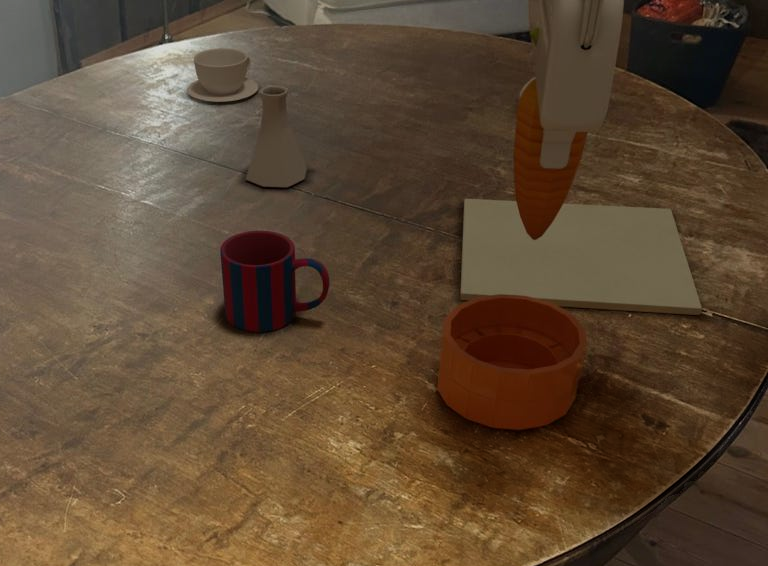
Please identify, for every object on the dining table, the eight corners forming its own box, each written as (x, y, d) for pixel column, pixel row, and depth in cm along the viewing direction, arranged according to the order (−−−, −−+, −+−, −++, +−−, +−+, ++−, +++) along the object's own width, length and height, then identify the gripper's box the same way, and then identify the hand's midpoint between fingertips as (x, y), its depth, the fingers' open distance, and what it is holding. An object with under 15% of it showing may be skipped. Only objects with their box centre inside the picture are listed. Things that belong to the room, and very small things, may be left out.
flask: (316, 168, 111) (316, 83, 104) (291, 194, 106) (289, 106, 99) (262, 159, 113) (259, 75, 106) (235, 183, 108) (229, 96, 102)
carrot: (486, 239, 69) (512, 23, 58) (527, 216, 71) (559, 5, 61) (541, 263, 66) (579, 40, 56) (582, 238, 68) (625, 21, 58)
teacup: (217, 111, 125) (215, 75, 122) (173, 91, 130) (169, 57, 127) (273, 91, 130) (272, 56, 126) (227, 73, 135) (225, 40, 132)
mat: (669, 215, 100) (671, 208, 100) (699, 315, 86) (702, 308, 85) (463, 204, 103) (464, 198, 103) (459, 300, 89) (460, 293, 88)
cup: (245, 288, 91) (241, 224, 86) (339, 310, 88) (340, 245, 83) (212, 323, 87) (206, 257, 82) (310, 347, 83) (309, 280, 79)
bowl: (568, 358, 81) (581, 298, 77) (577, 439, 73) (592, 378, 69) (439, 349, 83) (446, 290, 79) (434, 428, 75) (441, 367, 71)
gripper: (668, -40, 46) (612, 216, 56) (624, -123, 61) (585, 91, 70) (539, -40, 47) (505, 212, 57) (526, -122, 62) (501, 89, 71)
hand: (549, 144), depth 64 cm, fingers closed on carrot, 5 cm apart
